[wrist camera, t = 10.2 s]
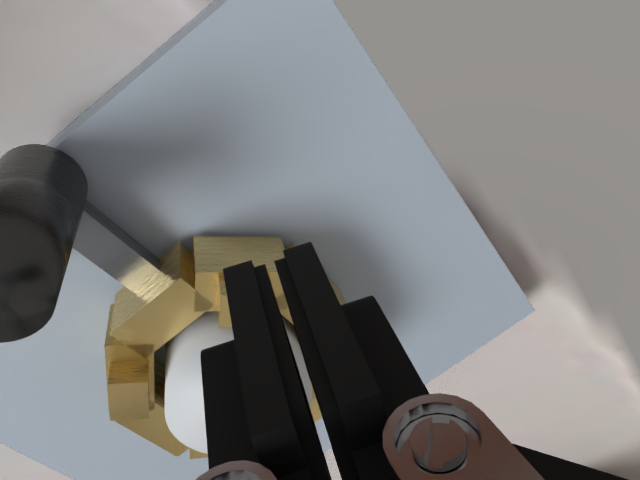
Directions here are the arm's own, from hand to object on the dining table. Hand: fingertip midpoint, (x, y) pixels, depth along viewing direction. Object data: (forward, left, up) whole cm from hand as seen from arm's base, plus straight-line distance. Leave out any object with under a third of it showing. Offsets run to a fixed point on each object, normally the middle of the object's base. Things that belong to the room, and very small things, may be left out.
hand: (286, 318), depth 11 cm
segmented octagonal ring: (-3, +5, -9) cm, 10 cm away
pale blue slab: (-6, +5, -10) cm, 13 cm away
